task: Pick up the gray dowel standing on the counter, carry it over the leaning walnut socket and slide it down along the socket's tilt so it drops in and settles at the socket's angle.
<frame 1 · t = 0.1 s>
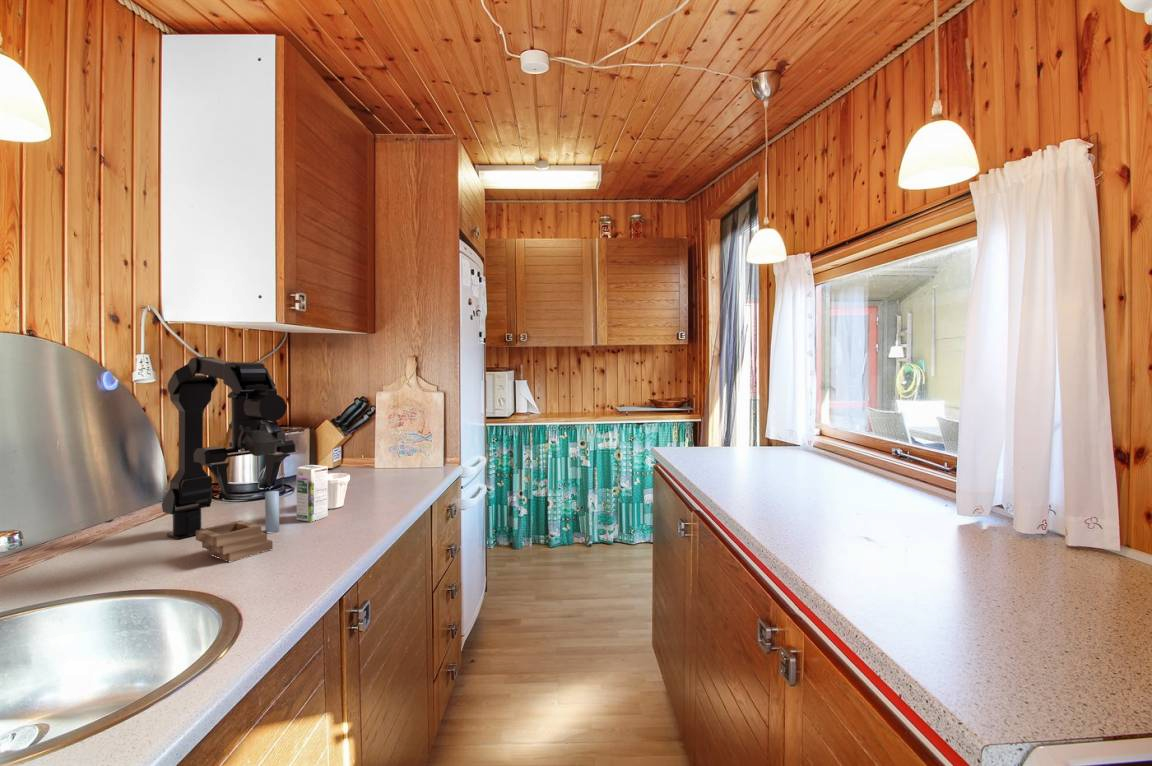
hand: (248, 489, 113), 15 cm above the worktop, tool pointing down, fingers open, 9 cm apart
gray dowel: (272, 531, 130), on the worktop
cup: (332, 507, 153), on the worktop
syrup box: (312, 519, 141), on the worktop
leaning socket: (241, 552, 115), on the worktop
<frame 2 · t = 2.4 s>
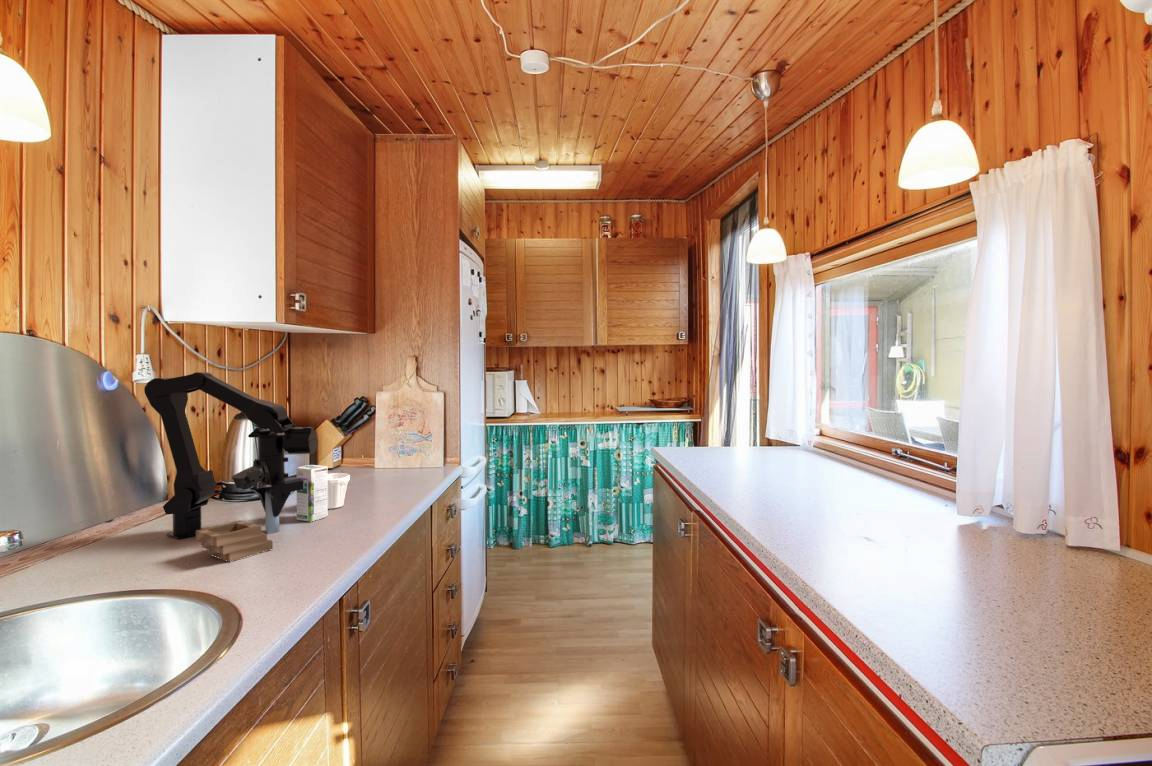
hand: (272, 515, 130), 4 cm above the worktop, tool pointing down, fingers closed on gray dowel, 3 cm apart
gray dowel: (272, 531, 130), on the worktop, touching gripper
everything else where it was.
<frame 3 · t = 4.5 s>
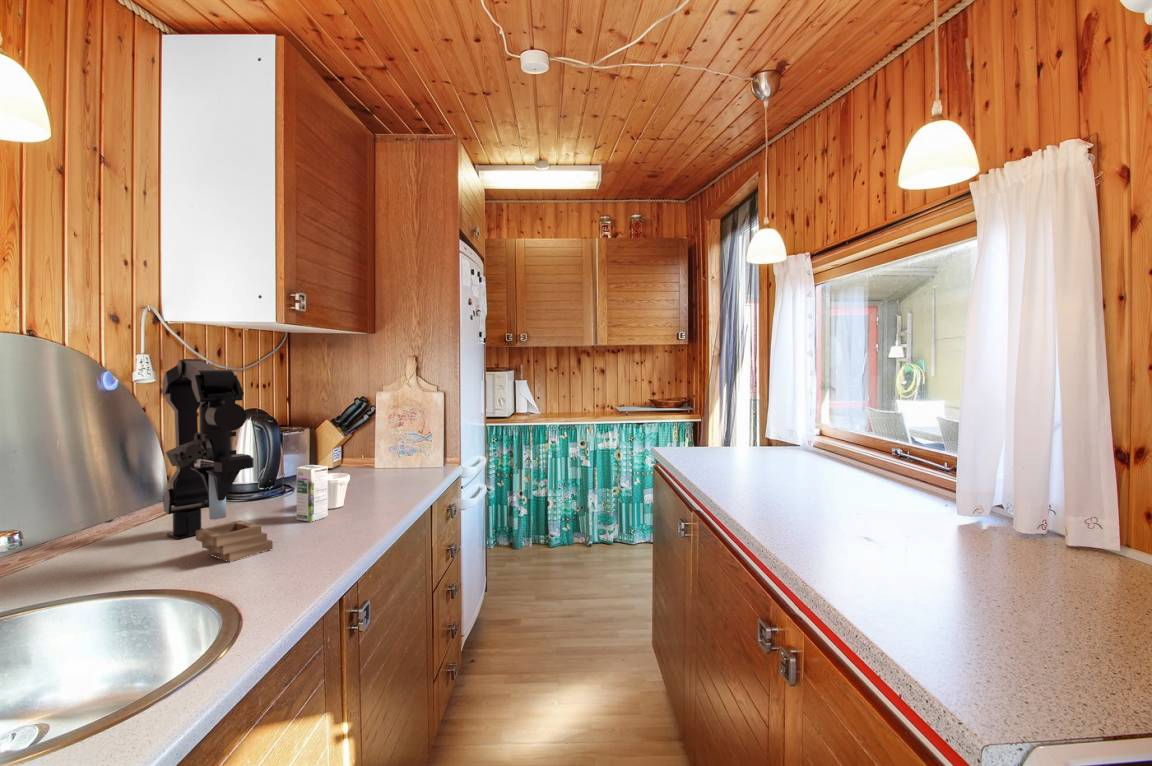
hand: (217, 499, 111), 13 cm above the worktop, tool pointing down, fingers closed on gray dowel, 3 cm apart
gray dowel: (217, 517, 111), point 9 cm above the worktop, touching gripper
everything else where it was.
when the fingers open (6 cm above the worktop, at t = 6.4 s): gray dowel drops 1 cm, resting on leaning socket.
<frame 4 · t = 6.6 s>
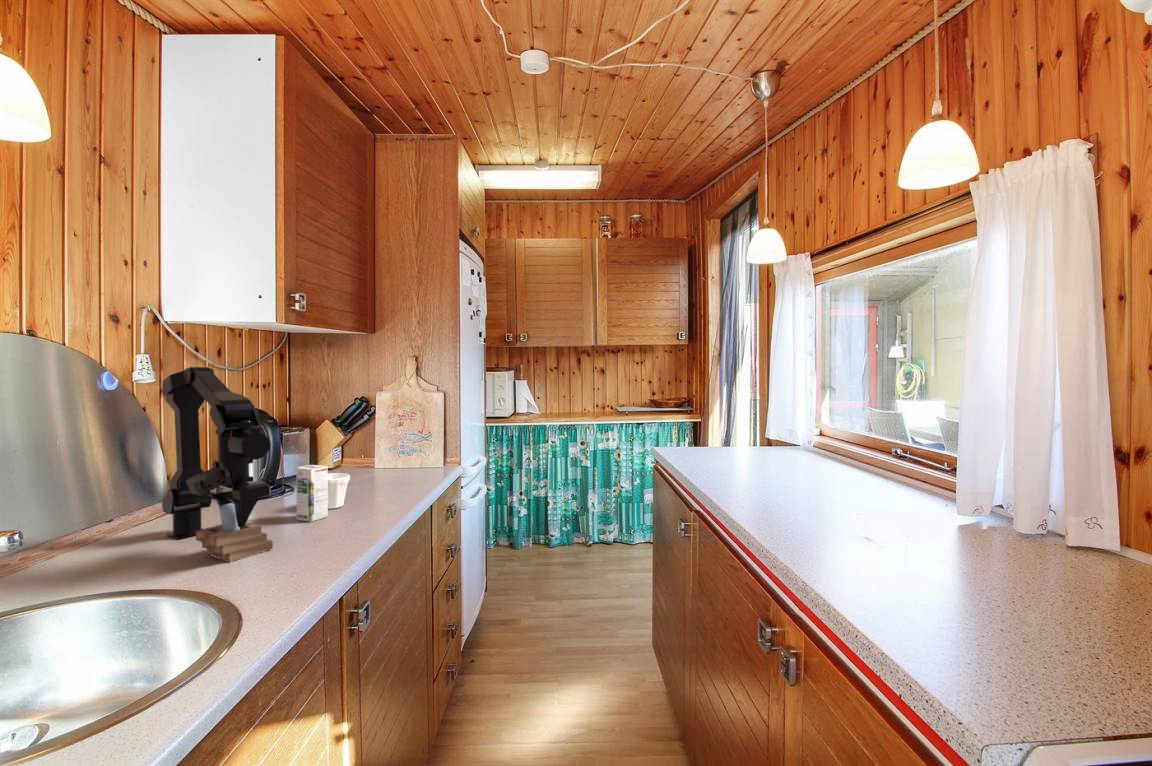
hand: (234, 524, 114), 6 cm above the worktop, tool pointing down, fingers open, 5 cm apart
gray dowel: (235, 548, 114), point 1 cm above the worktop, tilted 8°, touching leaning socket
everything else where it was.
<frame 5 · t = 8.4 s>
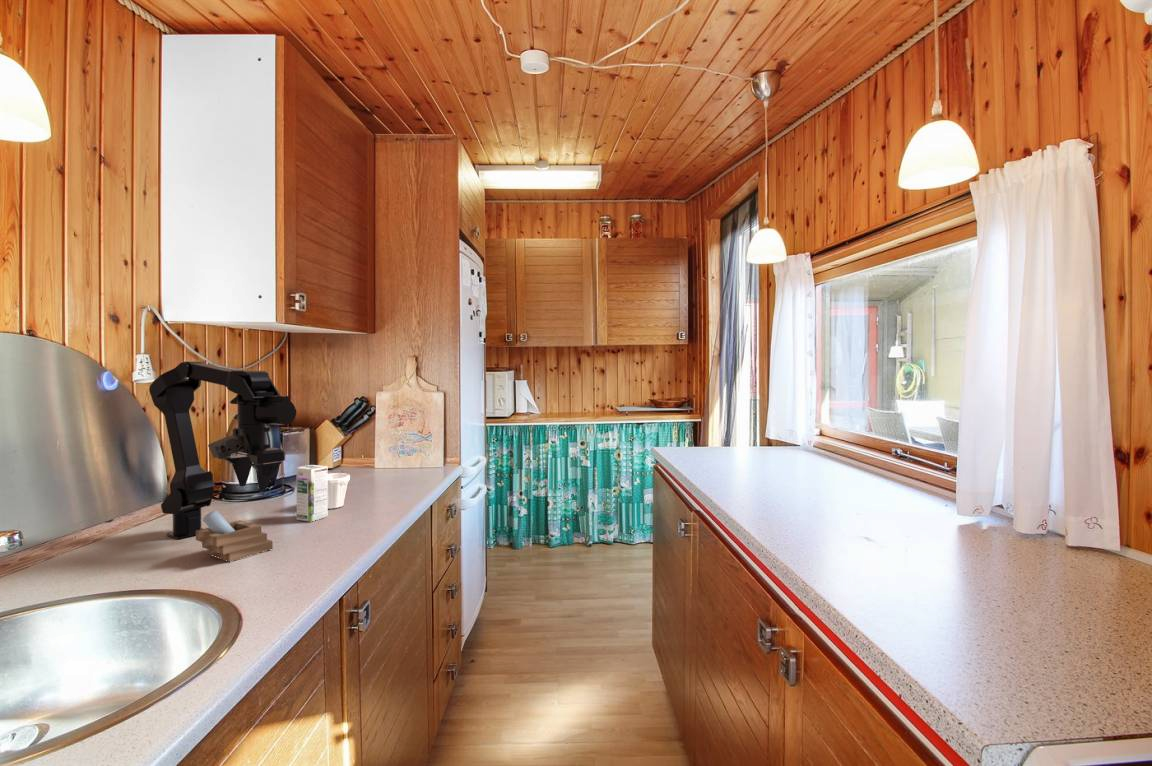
hand: (252, 488, 122), 13 cm above the worktop, tool pointing down, fingers open, 9 cm apart
gray dowel: (238, 546, 115), point 1 cm above the worktop, tilted 34°, touching leaning socket
everything else where it was.
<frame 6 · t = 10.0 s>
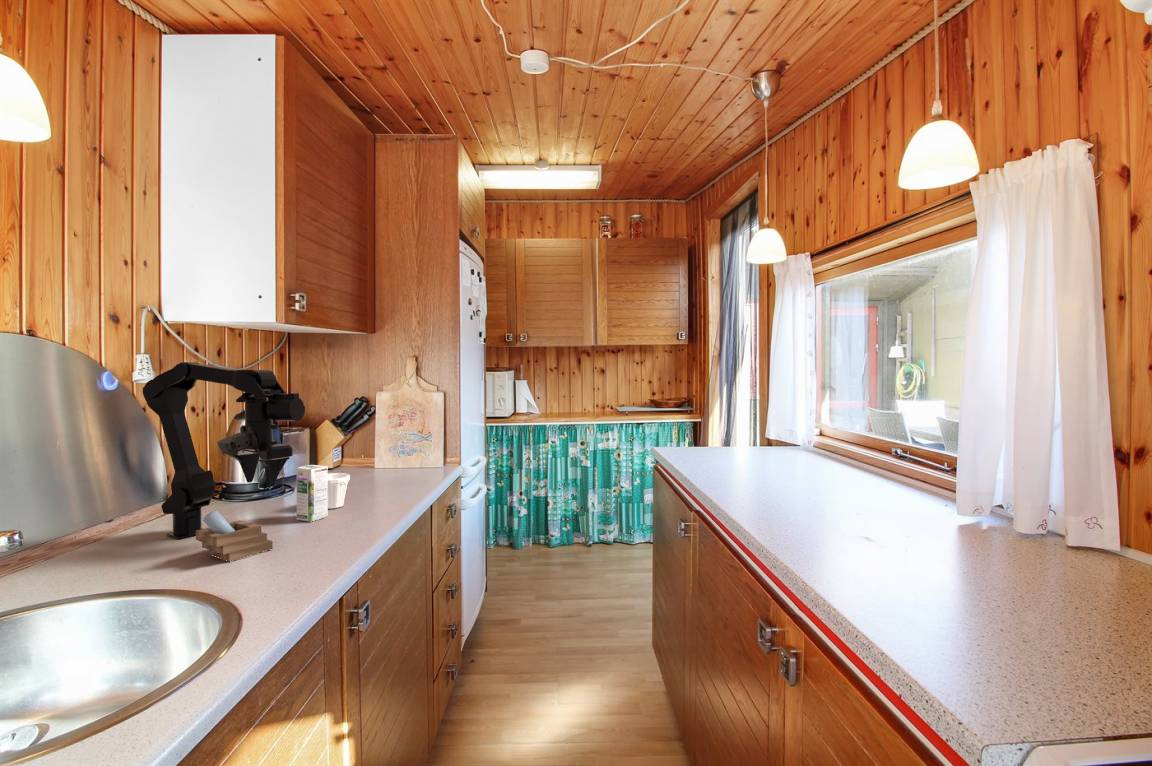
hand: (259, 484, 125), 13 cm above the worktop, tool pointing down, fingers open, 9 cm apart
nothing on the worktop moved.
at the end: gray dowel inside the target area on the leaning socket (0.7 cm from its centre), point 1.5 cm above the leaning socket's base; the gripper is holding nothing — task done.
